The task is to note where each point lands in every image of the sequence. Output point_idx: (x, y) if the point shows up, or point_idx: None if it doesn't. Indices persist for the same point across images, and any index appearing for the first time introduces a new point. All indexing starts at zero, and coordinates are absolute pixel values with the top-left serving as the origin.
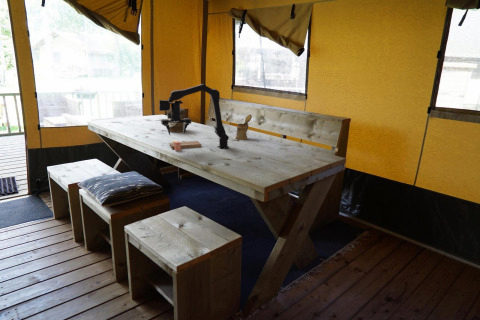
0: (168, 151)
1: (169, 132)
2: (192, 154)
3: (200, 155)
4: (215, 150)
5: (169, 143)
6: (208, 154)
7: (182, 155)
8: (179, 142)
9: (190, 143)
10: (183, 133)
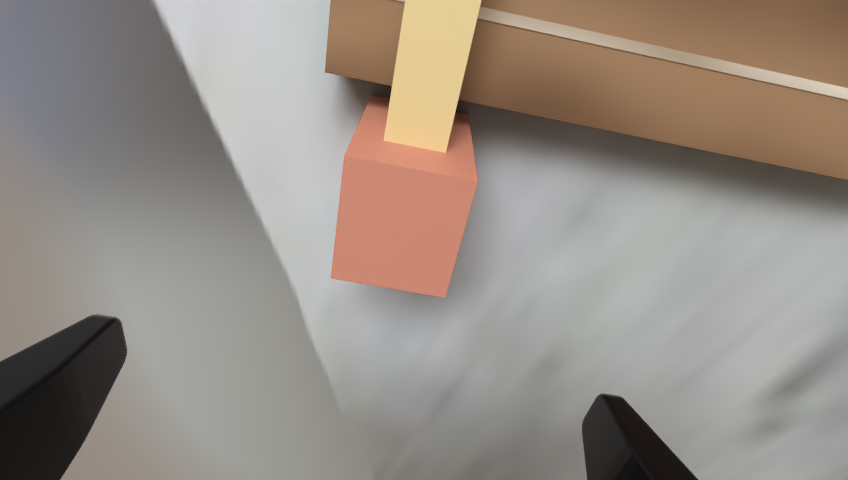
0: (240, 166)
1: (46, 463)
2: (486, 412)
3: (537, 463)
4: (823, 404)
5: None
6: None
7: (368, 397)
8: (423, 290)
9: (813, 30)
10: (585, 445)
